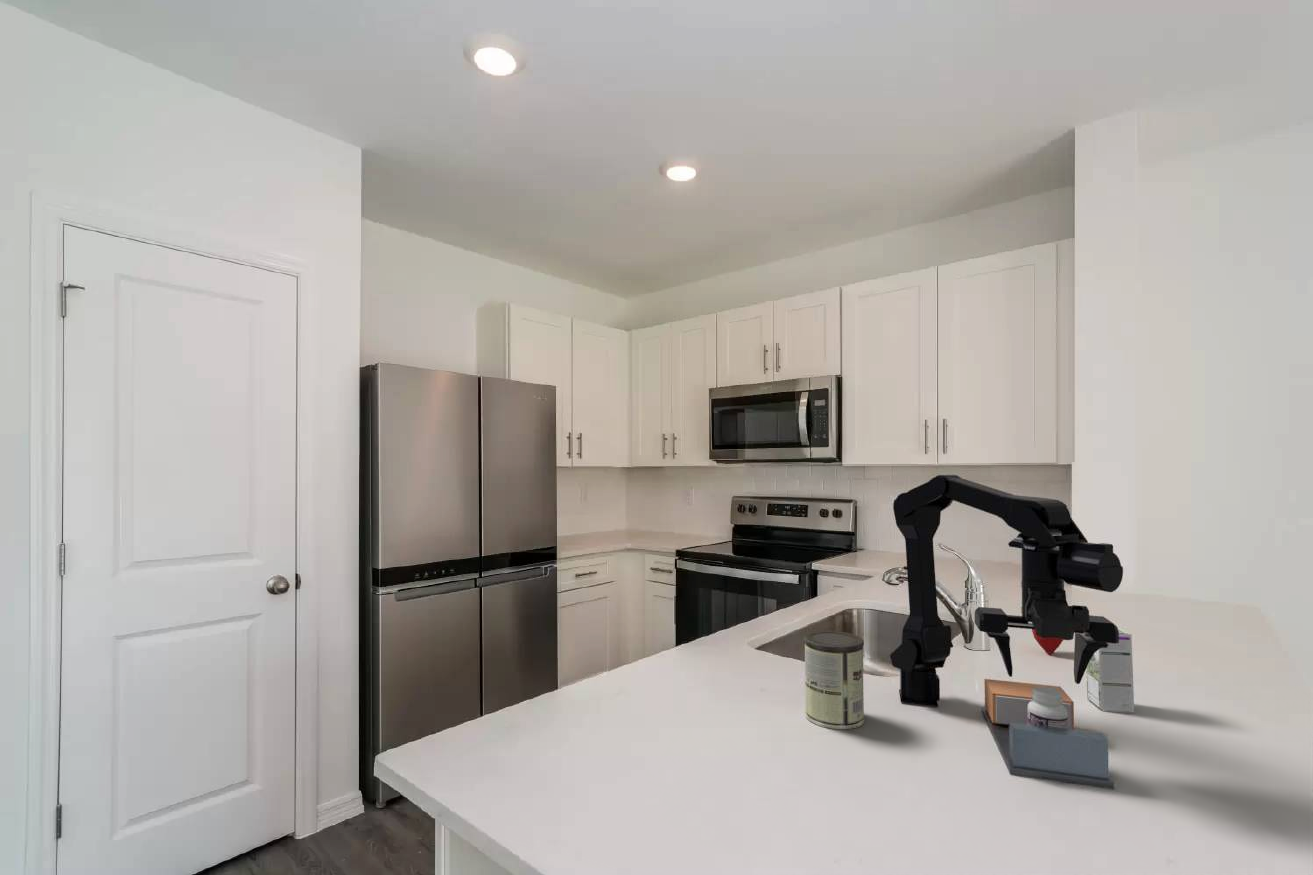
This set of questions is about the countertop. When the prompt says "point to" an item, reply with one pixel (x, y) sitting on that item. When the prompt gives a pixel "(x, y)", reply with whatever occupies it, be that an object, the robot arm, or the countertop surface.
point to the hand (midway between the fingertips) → (1043, 679)
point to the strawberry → (1048, 643)
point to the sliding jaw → (1017, 701)
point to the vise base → (1052, 753)
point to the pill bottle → (1047, 708)
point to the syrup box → (1112, 676)
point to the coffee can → (834, 679)
